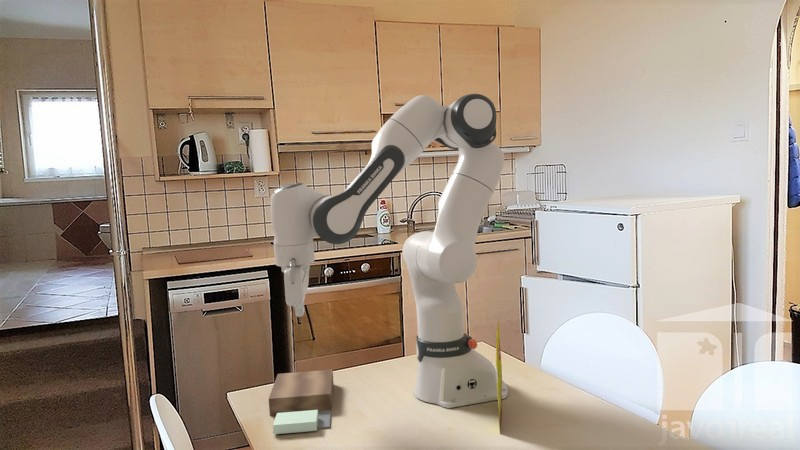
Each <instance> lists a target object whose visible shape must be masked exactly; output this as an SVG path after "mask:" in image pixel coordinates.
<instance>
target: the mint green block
mask: <svg viewBox="0 0 800 450" xmlns="http://www.w3.org/2000/svg"><path fill="white" fill-rule="evenodd" d="M317 425H318V410H308V411H296V412H284V413H277V414H276V415H275V418H274V421H273V425H272V428H273V429H272V430H273V431H274V433H273V435H279V434H281V435H282V434H292V433H304V432H316V431H317V430H318V429H317ZM273 431H272V432H273Z"/></svg>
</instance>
